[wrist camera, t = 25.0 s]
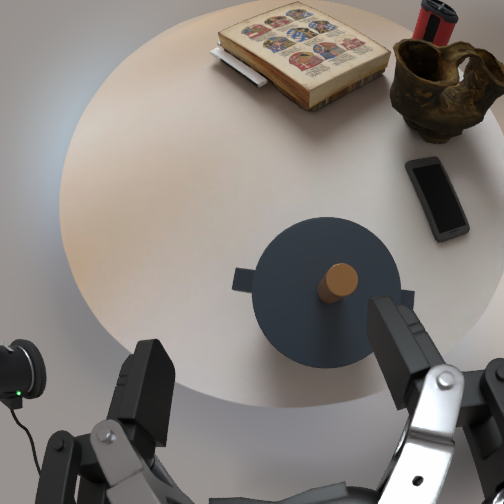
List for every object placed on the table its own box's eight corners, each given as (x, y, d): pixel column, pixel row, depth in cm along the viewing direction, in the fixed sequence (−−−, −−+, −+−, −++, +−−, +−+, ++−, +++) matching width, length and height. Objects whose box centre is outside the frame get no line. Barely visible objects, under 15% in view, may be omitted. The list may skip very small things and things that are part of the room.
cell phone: (436, 157, 42) (437, 155, 41) (469, 232, 38) (471, 231, 37) (403, 163, 42) (404, 161, 41) (436, 243, 38) (438, 242, 37)
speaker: (399, 63, 48) (418, 0, 31) (410, 51, 49) (427, -7, 31) (430, 82, 46) (456, 20, 29) (438, 68, 47) (462, 11, 30)
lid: (268, 380, 28) (261, 398, 21) (241, 236, 33) (226, 207, 25) (409, 344, 27) (446, 348, 20) (376, 209, 32) (398, 175, 24)
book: (207, 57, 53) (295, 125, 46) (201, 35, 47) (295, 99, 40) (293, 19, 55) (384, 74, 47) (292, -1, 49) (391, 51, 41)
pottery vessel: (461, 101, 44) (497, 37, 25) (486, 143, 41) (535, 82, 22) (363, 104, 46) (384, 17, 27) (387, 153, 43) (428, 65, 24)
